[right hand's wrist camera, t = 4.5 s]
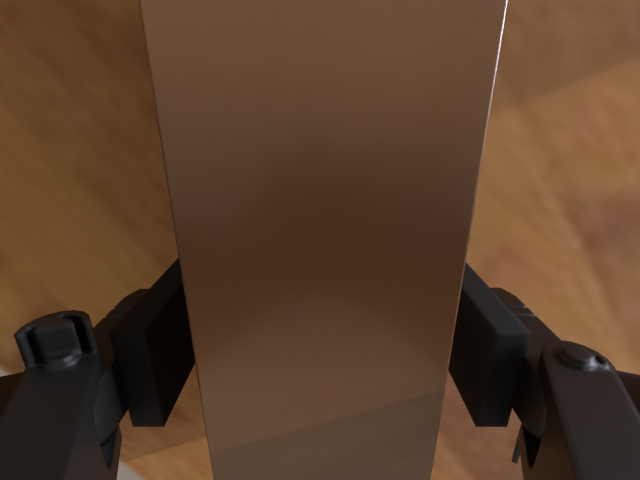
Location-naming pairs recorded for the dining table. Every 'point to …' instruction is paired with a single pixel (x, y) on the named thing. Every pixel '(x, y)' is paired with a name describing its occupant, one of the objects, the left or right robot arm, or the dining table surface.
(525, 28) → the dining table surface
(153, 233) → the dining table surface
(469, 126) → the bar
